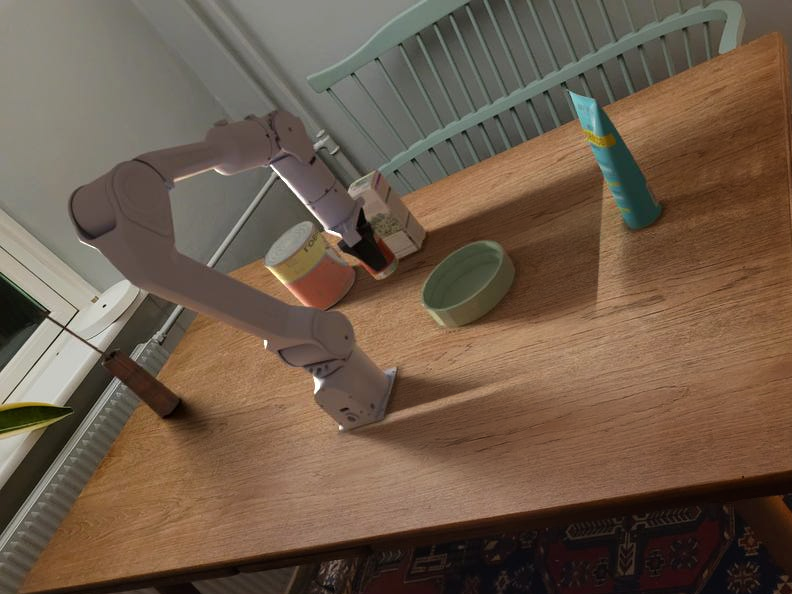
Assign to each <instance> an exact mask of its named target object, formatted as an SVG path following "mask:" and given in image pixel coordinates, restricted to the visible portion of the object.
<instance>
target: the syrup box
mask: <svg viewBox="0 0 792 594" xmlns="http://www.w3.org/2000/svg"><path fill="white" fill-rule="evenodd" d="M347 192H348V193H349V195H350V196H351V197H352V198H353V199H354V200H356V199H357V198H358V197H360V196H362V197H363V198H364V200H365V204H364V205H363V206H362V208H363V210H364V214H365V218H366V221H367V223H368V222H370V224H371V227H372V229H373V230H375V232H376V233H377V234H378V235H379V236H380V237H381V239H382V240H383V241H384V242H385V243H386V245H387V246H388V247H389V248H390V249H391V251H392V252H393V253H394V255H395V256H396V257H397V258H398V260H399V259H401V258H404V257H406V256H408V255H410V254H412V253H415V252H416V251H418V250H421V248H422V245H423V240H425V239H426V235H427V230H426V229H425V228H424V227H423V226H422V224H421V223H420V222H419V221H418V219H417V218H416V217H415V216H414V214H413V213H412V212H411V210H410V209H409V208H408V207H407V205H406V204H405V203H404V201H403V200H402V199H401V198H400V195H398V194H397V192H396V190H394V188H393V187H392V186H391V184H390V183H389V182H388V180H387V179H386V178H385V176H384V175H383V174H382V173H381V171H380V170H379V169H375V170H373V171H372V172H369V173H368V174H366V175H364V176H362V177H361V178H358V179H357V180H355V181H353V182H351V184H350V186H349V188H348V190H347Z"/></svg>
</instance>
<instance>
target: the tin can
mask: <svg viewBox="0 0 792 594" xmlns="http://www.w3.org/2000/svg"><path fill="white" fill-rule="evenodd" d="M372 231H373V235H374V238H375V241H376V243H377V244H378V246H379V248H380V249H381V251H382V253H383V254H384V256H385V258H386V260H387V262H388V265H387V266H385V267H384V268H383V269H382V270H380V271H379V272H376V271H374V270H373V269H371V268H370V267H369V266H367V265H366V264H365V263H363V262H362V261H361V260H359V259H358V258H356V259H357V260H358V261H359V262H360V264H361V265H362V266H363V267H364V268H365V269H366V271H367V272H368V273H369V274H370V275H371V276H372V277H373V278H374V279H375V280H377V281H381V280H384V279H385V278H387V277H389V276H390V275H392V274H393V272H394V271H395V270H396V269H397V267H398V266H399V264H400V260H399V259H398V258H397V257H396V256H395V255H394V253H393V252H392V251H391V249H390V248H389V247H388V246H387V245H386V243H385V242H384V241H383V240H382V239H381V237H380V236H379V235H378V234H377V233H376V232H375V230H373V229H372Z"/></svg>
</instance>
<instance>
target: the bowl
mask: <svg viewBox="0 0 792 594" xmlns="http://www.w3.org/2000/svg"><path fill="white" fill-rule="evenodd" d="M515 275H516V267H515V263H514V261H512V259H511V257H510V256H509V254H508V253H507V251H506V250H505V249H504V247H503V246H502V245H501V244H500V243H498V241H495V240H491V239H483V240H477V241H473V242H470V243H468V244H466V245H463V246H461V247H459V248H458V249H456V250H455V251H453V252H452V253H449V254H448V255H447V256H446V257H445V258H444V259H443V260H442V261H441V262H439V263H438V264H437V265H436V267H435V268H434V269H433V270H432V271H431V272H430V273H429V275H428V277H427V278H426V280H425V282H424V283H423V284H422V288H421V292H420V303H421V305H422V306H423V307H424V309H425V310H426V312H428V313H429V315H430V316H431V317H432V318H433V319H434V320H435V322H436V323H437V324H438V325H440V326H442V327H446V328H456V327H459V328H460V327H462V326H465V325H468V324H471V323H473V322H475V321H476V320H479V319H480V318H482V317H484V316H486V315H487V314H488V313H489V312H490V311H492V310H493V309H494V308H495V307H497V306H498V304H499V303H500V302H501V301H502V300H503V299H504V298H505V296H506V295H507V294H508V292H509V291H510V289H511V287H512V286H513V283H514V281H515Z"/></svg>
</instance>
